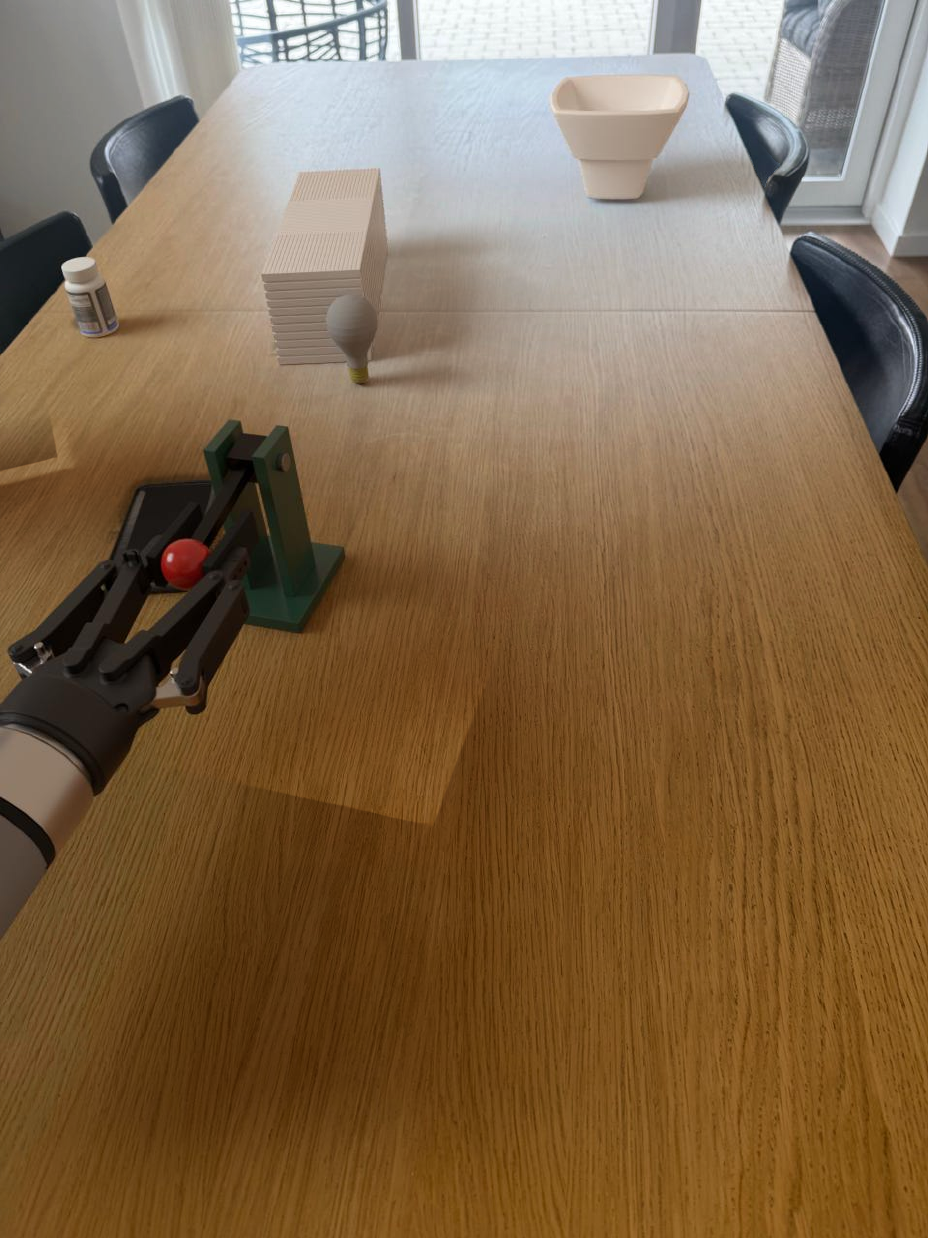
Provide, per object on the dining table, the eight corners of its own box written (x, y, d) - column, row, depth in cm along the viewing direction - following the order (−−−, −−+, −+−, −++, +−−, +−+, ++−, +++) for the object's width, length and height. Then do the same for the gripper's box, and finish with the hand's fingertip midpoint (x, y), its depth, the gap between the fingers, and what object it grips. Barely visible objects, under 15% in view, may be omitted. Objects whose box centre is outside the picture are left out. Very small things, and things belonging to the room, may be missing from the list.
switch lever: (207, 604, 67) (191, 570, 64) (161, 596, 68) (144, 562, 65) (284, 466, 75) (273, 430, 73) (243, 460, 76) (230, 425, 73)
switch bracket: (300, 633, 78) (266, 482, 68) (212, 618, 80) (165, 468, 70) (346, 557, 85) (320, 409, 75) (263, 544, 87) (227, 398, 77)
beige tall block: (312, 252, 135) (299, 171, 127) (388, 248, 134) (379, 167, 127) (279, 364, 111) (261, 273, 104) (371, 360, 111) (359, 268, 103)
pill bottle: (109, 317, 123) (89, 251, 117) (125, 329, 120) (105, 263, 114) (74, 329, 121) (51, 263, 115) (89, 342, 118) (67, 275, 112)
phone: (98, 585, 82) (138, 482, 93) (102, 595, 83) (141, 492, 93) (191, 580, 82) (219, 478, 93) (194, 590, 82) (222, 488, 93)
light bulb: (354, 400, 104) (341, 313, 98) (326, 382, 108) (312, 296, 101) (394, 382, 107) (385, 296, 100) (366, 365, 110) (355, 280, 103)
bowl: (679, 218, 137) (690, 111, 127) (543, 217, 140) (543, 112, 130) (679, 172, 150) (689, 73, 141) (554, 172, 153) (556, 74, 144)
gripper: (-55, 777, 60) (140, 545, 76) (186, 833, 56) (337, 576, 72) (-111, 694, 54) (111, 464, 71) (150, 749, 50) (322, 493, 67)
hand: (224, 521), depth 71 cm, fingers closed on switch lever, 4 cm apart
